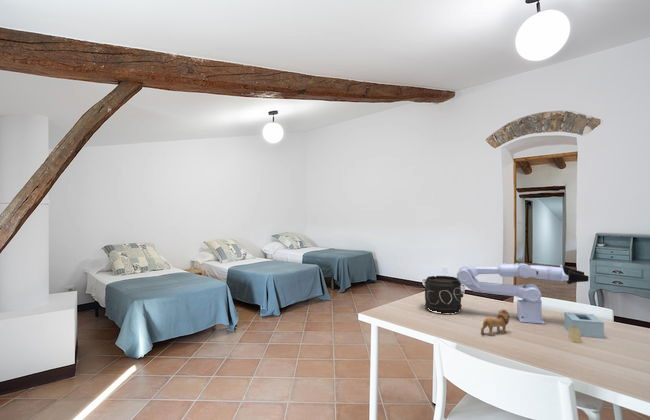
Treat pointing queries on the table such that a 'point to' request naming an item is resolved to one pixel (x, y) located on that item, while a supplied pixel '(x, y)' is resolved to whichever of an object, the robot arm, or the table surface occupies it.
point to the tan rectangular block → (574, 334)
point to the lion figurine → (496, 322)
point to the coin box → (585, 324)
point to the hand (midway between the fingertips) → (586, 276)
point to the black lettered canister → (443, 294)
